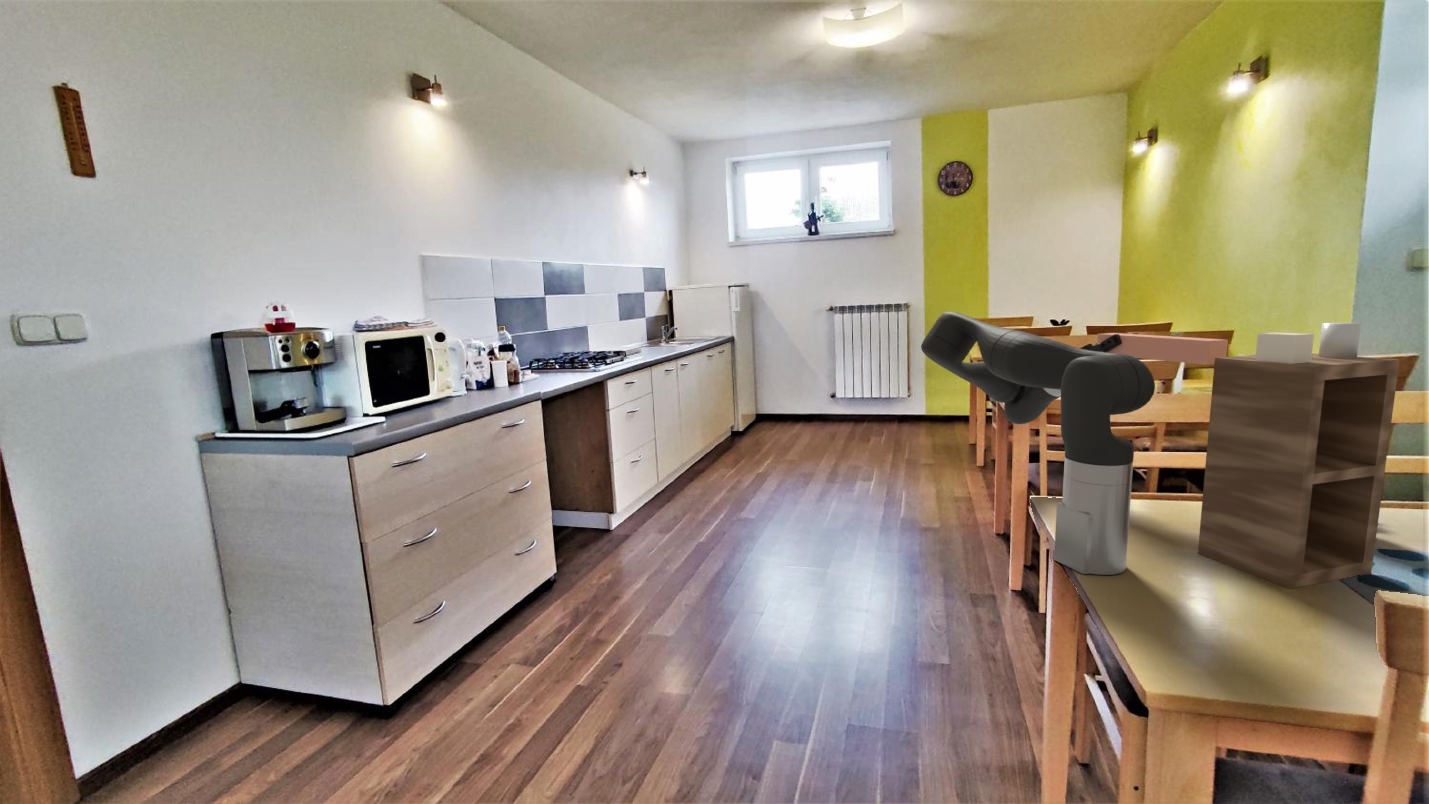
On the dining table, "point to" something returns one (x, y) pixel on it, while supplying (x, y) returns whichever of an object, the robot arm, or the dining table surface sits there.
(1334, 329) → the grey-blue round brick
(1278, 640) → the dining table surface
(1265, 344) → the off-white block brick
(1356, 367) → the walnut shelf
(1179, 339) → the coral bar brick
